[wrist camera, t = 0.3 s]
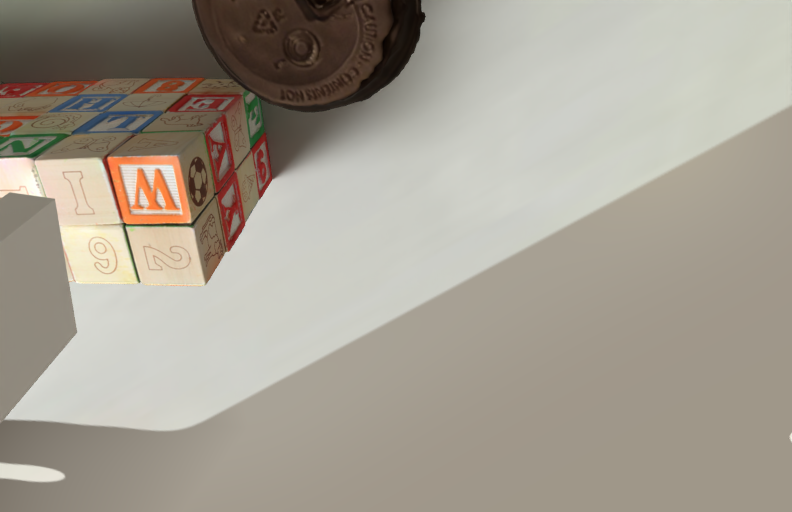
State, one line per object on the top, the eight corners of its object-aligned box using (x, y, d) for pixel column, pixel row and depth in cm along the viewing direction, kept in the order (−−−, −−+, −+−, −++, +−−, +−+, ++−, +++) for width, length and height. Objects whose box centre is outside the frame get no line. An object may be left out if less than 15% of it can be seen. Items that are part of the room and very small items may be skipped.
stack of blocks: (-55, 179, 43) (-229, 282, 32) (-94, 81, 39) (-302, 158, 29) (275, 179, 40) (206, 290, 30) (260, 75, 37) (178, 157, 27)
